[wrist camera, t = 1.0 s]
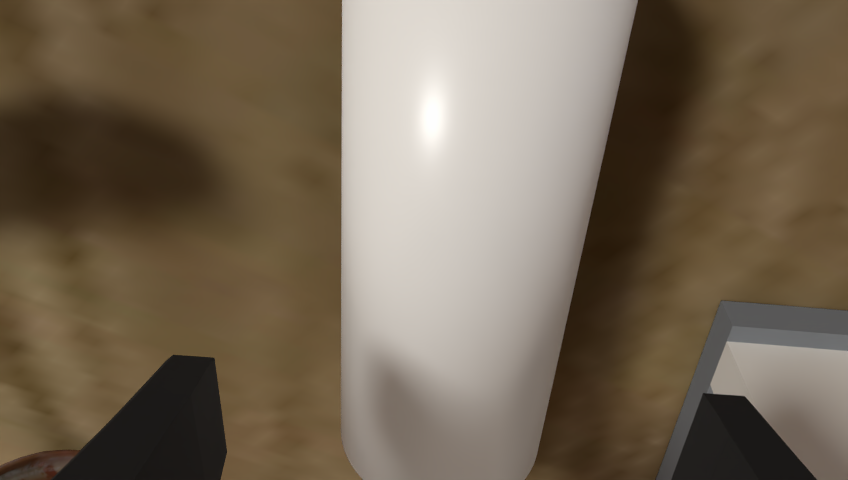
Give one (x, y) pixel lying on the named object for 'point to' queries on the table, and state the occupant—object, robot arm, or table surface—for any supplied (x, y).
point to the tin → (36, 465)
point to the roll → (465, 221)
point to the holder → (778, 379)
